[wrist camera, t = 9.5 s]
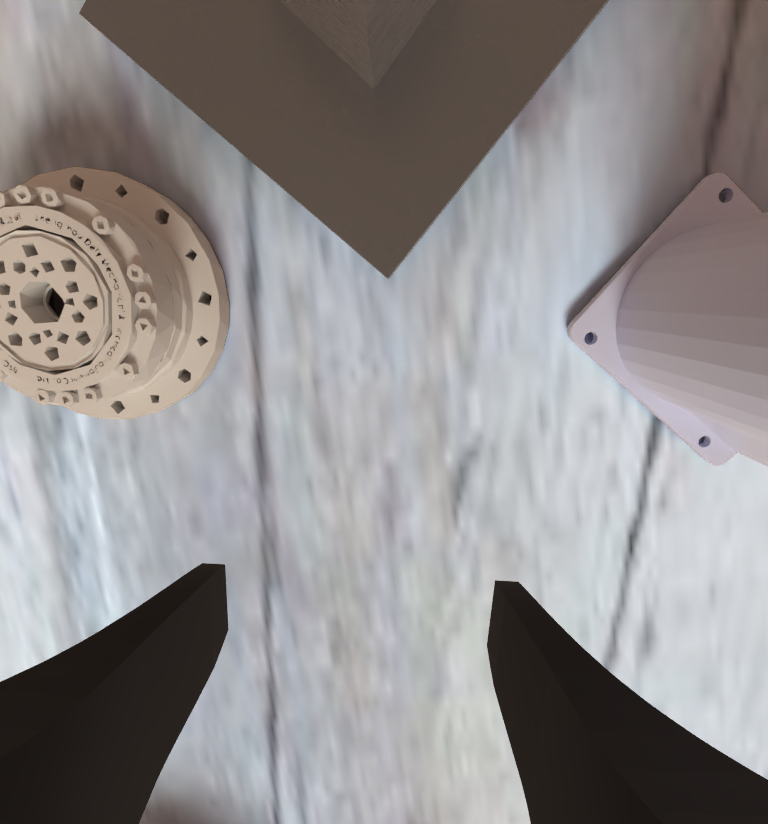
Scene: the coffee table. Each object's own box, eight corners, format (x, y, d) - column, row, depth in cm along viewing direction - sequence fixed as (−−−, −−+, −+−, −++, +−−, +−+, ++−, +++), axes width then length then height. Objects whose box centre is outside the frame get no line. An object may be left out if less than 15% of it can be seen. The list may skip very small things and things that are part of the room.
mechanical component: (217, 171, 18) (-20, 181, 18) (161, 132, 14) (-145, 146, 14) (243, 409, 21) (34, 413, 21) (203, 439, 16) (-59, 443, 17)
